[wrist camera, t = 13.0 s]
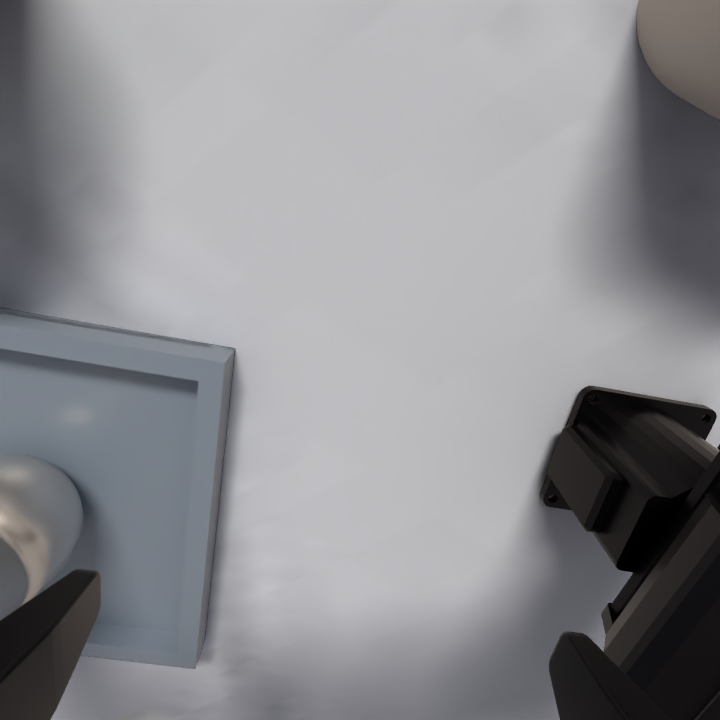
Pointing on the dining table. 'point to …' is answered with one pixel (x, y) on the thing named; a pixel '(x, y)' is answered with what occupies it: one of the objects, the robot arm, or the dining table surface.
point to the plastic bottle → (34, 526)
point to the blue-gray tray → (127, 468)
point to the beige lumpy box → (683, 48)
